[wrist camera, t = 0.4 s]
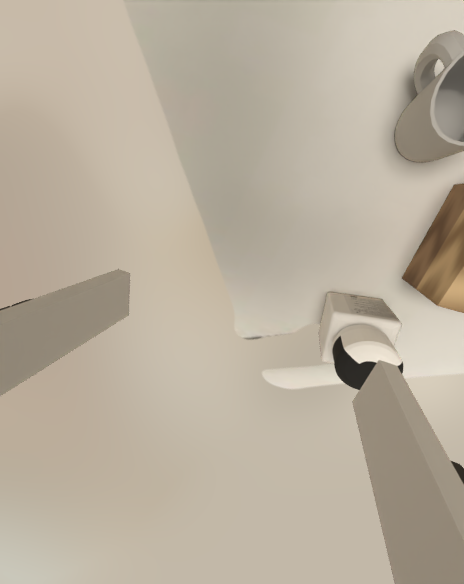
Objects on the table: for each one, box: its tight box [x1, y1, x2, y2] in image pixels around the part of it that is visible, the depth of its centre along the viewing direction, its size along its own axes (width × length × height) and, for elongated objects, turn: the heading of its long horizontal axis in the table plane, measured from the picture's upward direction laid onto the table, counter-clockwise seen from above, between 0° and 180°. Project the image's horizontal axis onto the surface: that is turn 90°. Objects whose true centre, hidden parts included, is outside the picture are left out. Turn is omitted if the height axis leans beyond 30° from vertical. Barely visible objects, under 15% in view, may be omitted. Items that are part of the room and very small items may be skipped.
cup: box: [395, 30, 464, 162], centre depth 21 cm, size 7×10×9 cm
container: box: [319, 292, 403, 390], centre depth 30 cm, size 8×8×13 cm
